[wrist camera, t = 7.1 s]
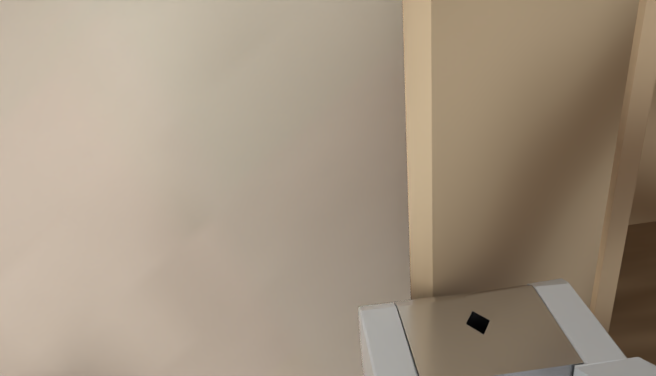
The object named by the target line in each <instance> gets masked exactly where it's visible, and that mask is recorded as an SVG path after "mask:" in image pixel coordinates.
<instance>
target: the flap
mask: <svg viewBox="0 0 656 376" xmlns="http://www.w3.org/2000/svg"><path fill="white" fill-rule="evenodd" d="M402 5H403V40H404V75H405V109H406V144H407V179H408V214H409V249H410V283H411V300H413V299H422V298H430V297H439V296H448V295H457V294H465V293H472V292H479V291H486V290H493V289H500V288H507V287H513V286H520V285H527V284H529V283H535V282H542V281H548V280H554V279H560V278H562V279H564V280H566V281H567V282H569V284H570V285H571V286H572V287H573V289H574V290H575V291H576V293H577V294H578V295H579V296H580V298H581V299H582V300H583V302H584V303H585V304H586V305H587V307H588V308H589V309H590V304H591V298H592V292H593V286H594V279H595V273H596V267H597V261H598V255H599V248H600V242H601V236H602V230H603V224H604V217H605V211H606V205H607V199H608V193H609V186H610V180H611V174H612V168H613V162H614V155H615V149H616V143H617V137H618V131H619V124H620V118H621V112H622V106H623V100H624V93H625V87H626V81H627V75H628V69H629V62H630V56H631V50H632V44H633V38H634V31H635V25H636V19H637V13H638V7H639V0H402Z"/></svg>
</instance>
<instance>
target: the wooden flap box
mask: <svg viewBox="0 0 656 376" xmlns="http://www.w3.org/2000/svg"><path fill="white" fill-rule="evenodd" d="M590 311H591V312H592V313H593V315H594V316H595V317H596V318H597V320H598V321H599V322H600V324H601V325H602V326H603V327H604V329H605V330H606V331H607V333H608V334H609V335H610V336H611V338H612V339H613V340H614V342H615V343H616V344H617V345H618V347H619V348H620V349H621V351H622V352H623V353H624V354H625V356H626V357H627V358H633V357H640V358H642V359H644V360H646V361H648V362H650V363H652V364H654V365H656V0H639V7H638V13H637V19H636V25H635V31H634V38H633V44H632V50H631V56H630V62H629V69H628V75H627V81H626V87H625V93H624V100H623V106H622V112H621V118H620V124H619V131H618V137H617V143H616V149H615V155H614V162H613V168H612V174H611V180H610V186H609V193H608V199H607V205H606V211H605V217H604V224H603V230H602V236H601V242H600V248H599V255H598V261H597V267H596V273H595V279H594V286H593V292H592V298H591V304H590Z"/></svg>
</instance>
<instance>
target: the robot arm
mask: <svg viewBox="0 0 656 376" xmlns="http://www.w3.org/2000/svg"><path fill="white" fill-rule="evenodd" d="M358 319H359V331H360V344H361V356H362V367H363V375H364V376H656V365H654V364H652V363H650V362H648V361H646V360H644V359H642V358H640V357H633V358H627V357H626V356H625V354H624V353H623V352H622V351H621V349H620V348H619V347H618V345H617V344H616V343H615V342H614V340H613V339H612V338H611V336H610V335H609V334H608V333H607V331H606V330H605V329H604V327H603V326H602V325H601V324H600V322H599V321H598V320H597V318H596V317H595V316H594V315H593V313H592V312H591V311H590V309H589V308H588V307H587V305H586V304H585V303H584V302H583V300H582V299H581V298H580V296H579V295H578V294H577V293H576V291H575V290H574V289H573V287H572V286H571V285H570V284H569V282H567V281H566V280H564V279H562V278H560V279H554V280H548V281H542V282H535V283H529V284H527V285H520V286H513V287H507V288H500V289H493V290H486V291H479V292H472V293H465V294H457V295H448V296H439V297H430V298H422V299H413V300H404V301H395V302H394V304H393V302H391V303H383V304H374V305H366V306H359V309H358Z"/></svg>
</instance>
